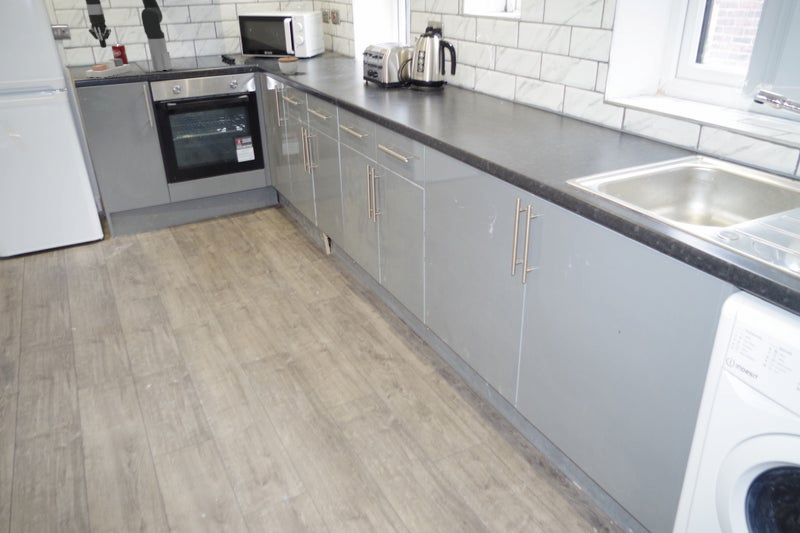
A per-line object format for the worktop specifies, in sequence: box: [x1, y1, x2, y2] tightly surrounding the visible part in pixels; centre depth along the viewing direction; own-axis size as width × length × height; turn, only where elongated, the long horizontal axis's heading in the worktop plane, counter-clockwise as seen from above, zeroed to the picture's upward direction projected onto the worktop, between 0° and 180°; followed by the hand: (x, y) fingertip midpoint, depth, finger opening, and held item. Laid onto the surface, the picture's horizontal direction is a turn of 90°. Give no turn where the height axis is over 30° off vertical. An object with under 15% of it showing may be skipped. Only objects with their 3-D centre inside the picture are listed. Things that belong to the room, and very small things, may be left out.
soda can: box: [111, 44, 130, 65], centre depth 358 cm, size 7×7×12 cm
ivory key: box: [99, 59, 115, 69], centre depth 333 cm, size 5×5×4 cm
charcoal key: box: [108, 58, 123, 67], centre depth 339 cm, size 5×5×4 cm
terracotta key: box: [91, 64, 107, 71], centre depth 327 cm, size 5×5×4 cm
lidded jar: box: [277, 55, 299, 76], centre depth 323 cm, size 11×11×9 cm
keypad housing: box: [85, 64, 132, 78], centre depth 334 cm, size 10×24×4 cm, turn 166°
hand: (103, 47), depth 328 cm, fingers closed
